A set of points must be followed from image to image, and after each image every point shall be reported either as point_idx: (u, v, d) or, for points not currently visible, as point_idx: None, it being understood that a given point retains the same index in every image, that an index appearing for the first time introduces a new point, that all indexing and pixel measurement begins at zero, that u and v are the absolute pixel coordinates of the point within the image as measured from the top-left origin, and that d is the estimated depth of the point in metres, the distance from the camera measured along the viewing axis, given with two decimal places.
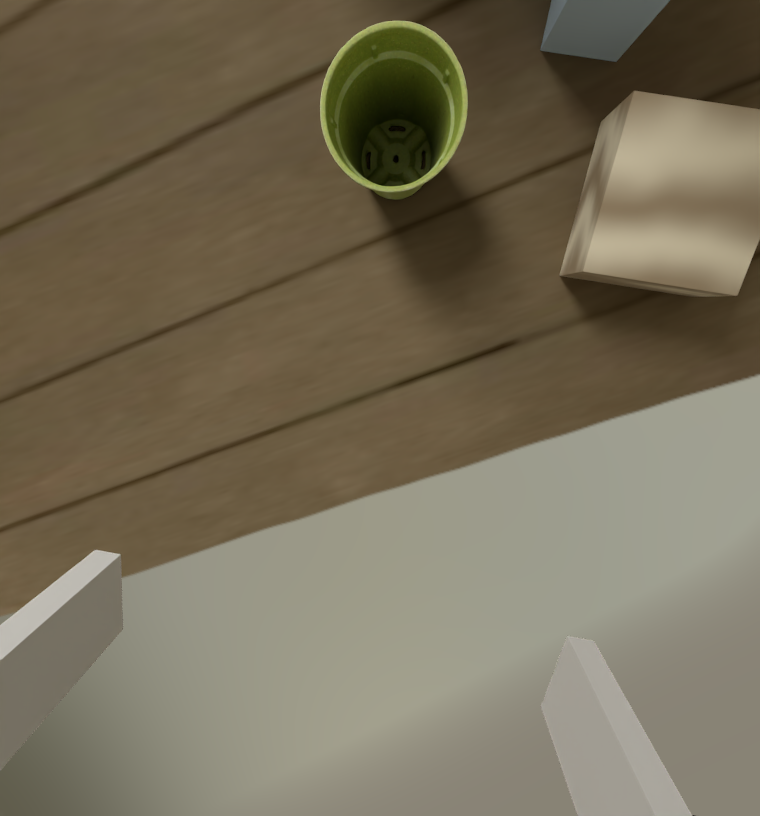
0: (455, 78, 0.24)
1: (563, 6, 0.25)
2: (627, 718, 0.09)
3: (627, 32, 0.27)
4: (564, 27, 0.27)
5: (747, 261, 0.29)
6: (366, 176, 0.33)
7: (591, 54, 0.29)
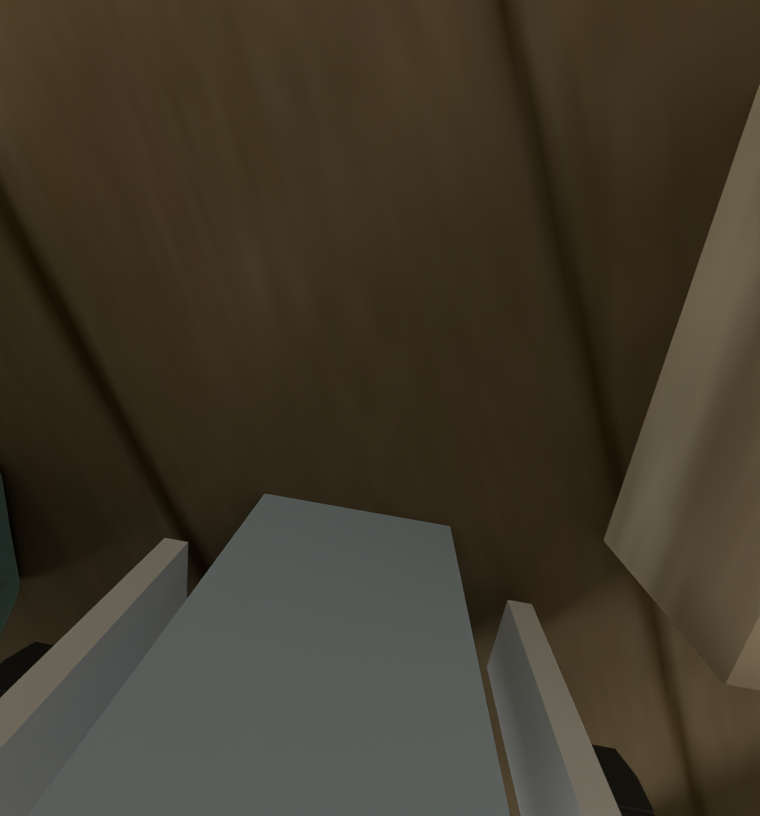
0: None
1: None
2: (549, 666, 0.10)
3: None
4: None
5: None
6: None
7: None
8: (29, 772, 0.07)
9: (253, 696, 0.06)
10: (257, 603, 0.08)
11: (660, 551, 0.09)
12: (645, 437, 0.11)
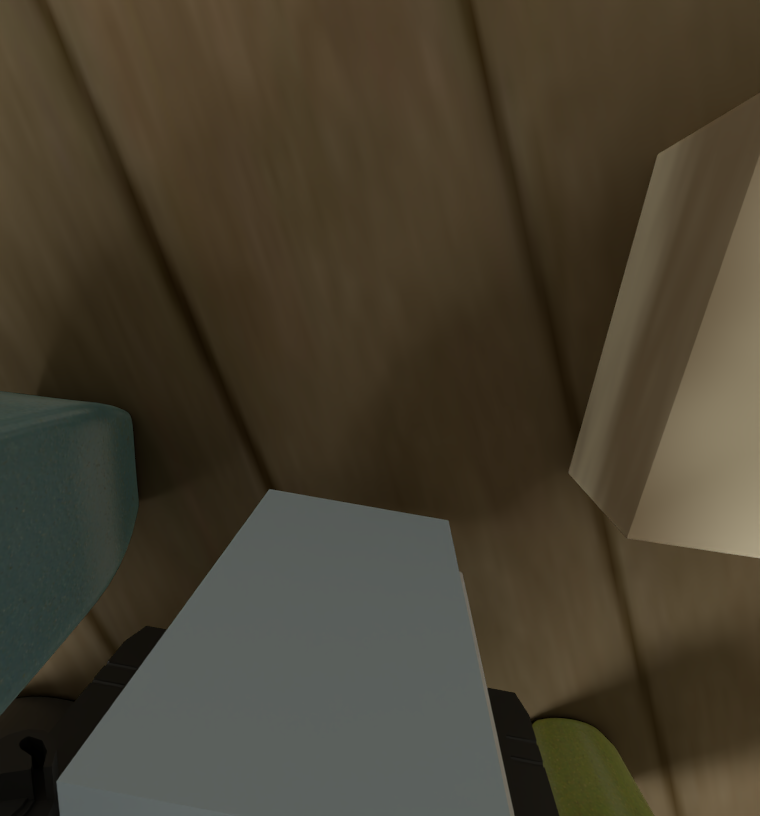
0: None
1: None
2: None
3: None
4: None
5: None
6: None
7: None
8: None
9: (263, 673, 0.07)
10: (264, 591, 0.08)
11: (599, 469, 0.14)
12: (593, 394, 0.15)
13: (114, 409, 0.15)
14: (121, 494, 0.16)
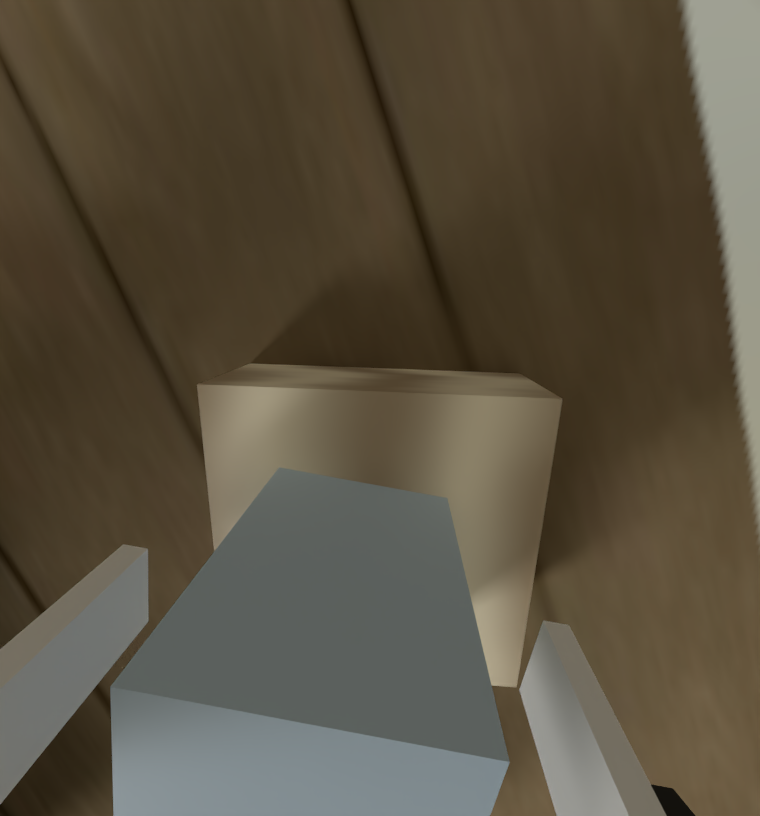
0: None
1: None
2: (595, 696, 0.09)
3: None
4: None
5: (482, 402, 0.12)
6: None
7: None
8: None
9: (282, 615, 0.07)
10: (279, 550, 0.09)
11: None
12: None
13: None
14: None
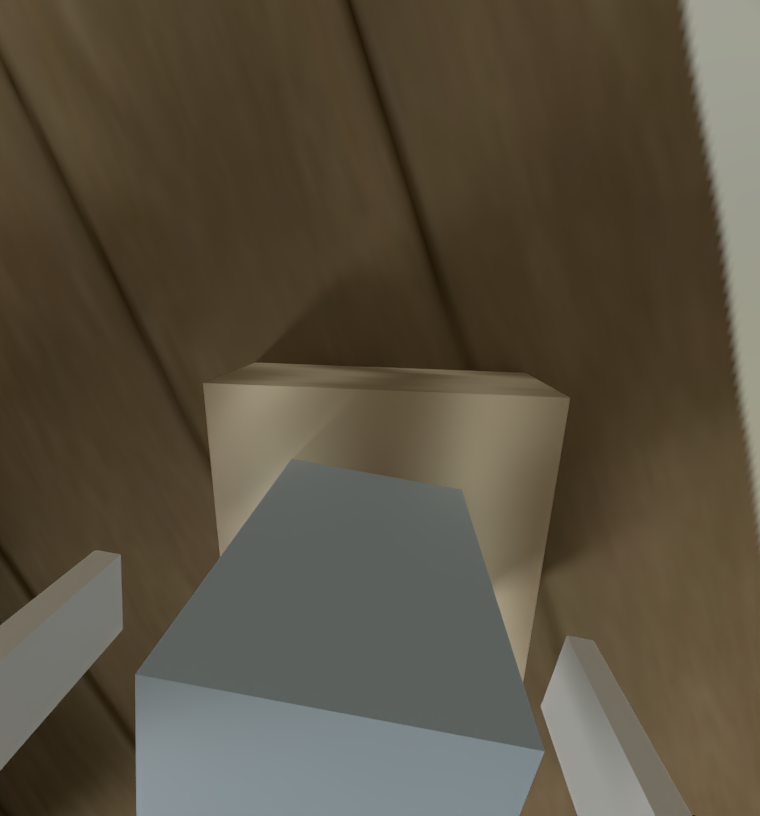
0: None
1: None
2: (627, 718, 0.09)
3: None
4: None
5: (490, 401, 0.12)
6: None
7: None
8: None
9: (304, 603, 0.07)
10: (297, 539, 0.09)
11: None
12: None
13: None
14: None
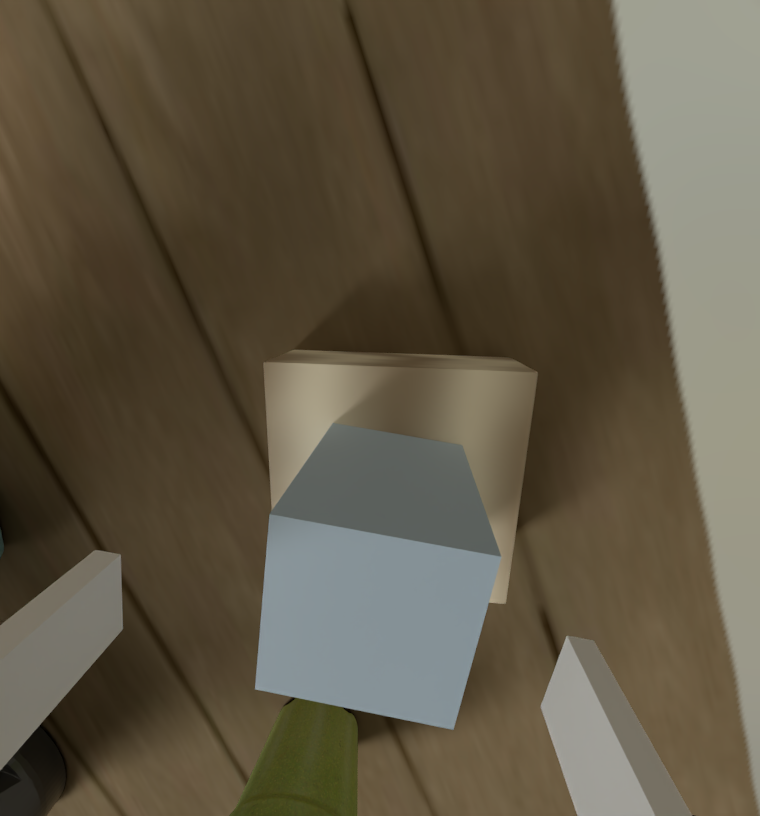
0: None
1: None
2: (627, 718, 0.09)
3: None
4: None
5: (478, 375, 0.16)
6: None
7: None
8: None
9: (356, 493, 0.11)
10: (346, 465, 0.13)
11: None
12: None
13: None
14: None
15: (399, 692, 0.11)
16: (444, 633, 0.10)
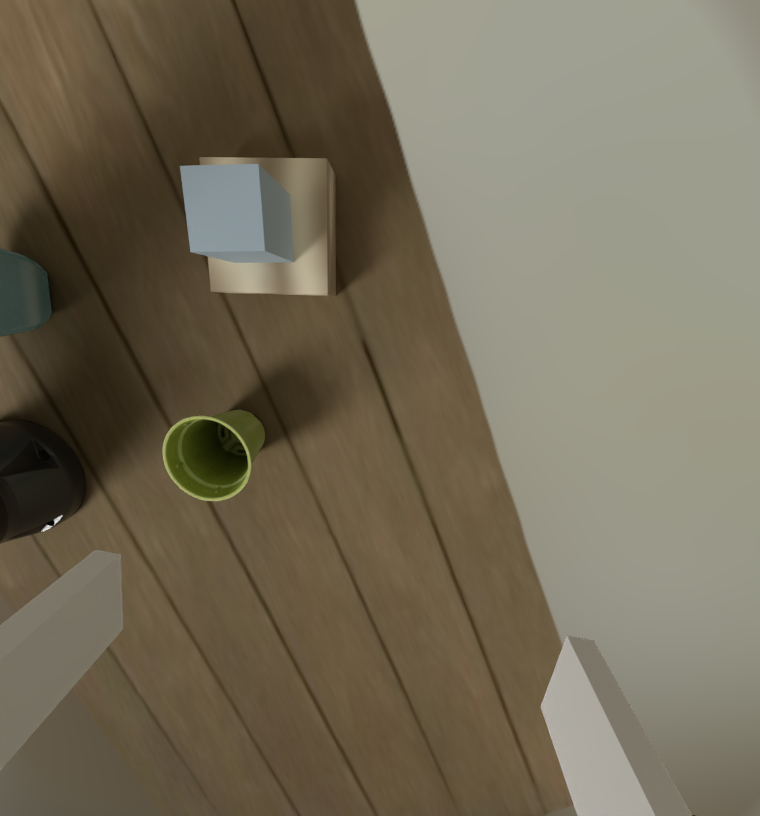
0: (187, 421, 0.39)
1: (278, 256, 0.33)
2: (627, 718, 0.09)
3: (280, 195, 0.33)
4: (284, 249, 0.34)
5: (299, 160, 0.35)
6: None
7: (290, 218, 0.36)
8: None
9: None
10: None
11: None
12: None
13: (37, 263, 0.41)
14: (41, 297, 0.42)
15: (241, 237, 0.29)
16: (249, 203, 0.29)
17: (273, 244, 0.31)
